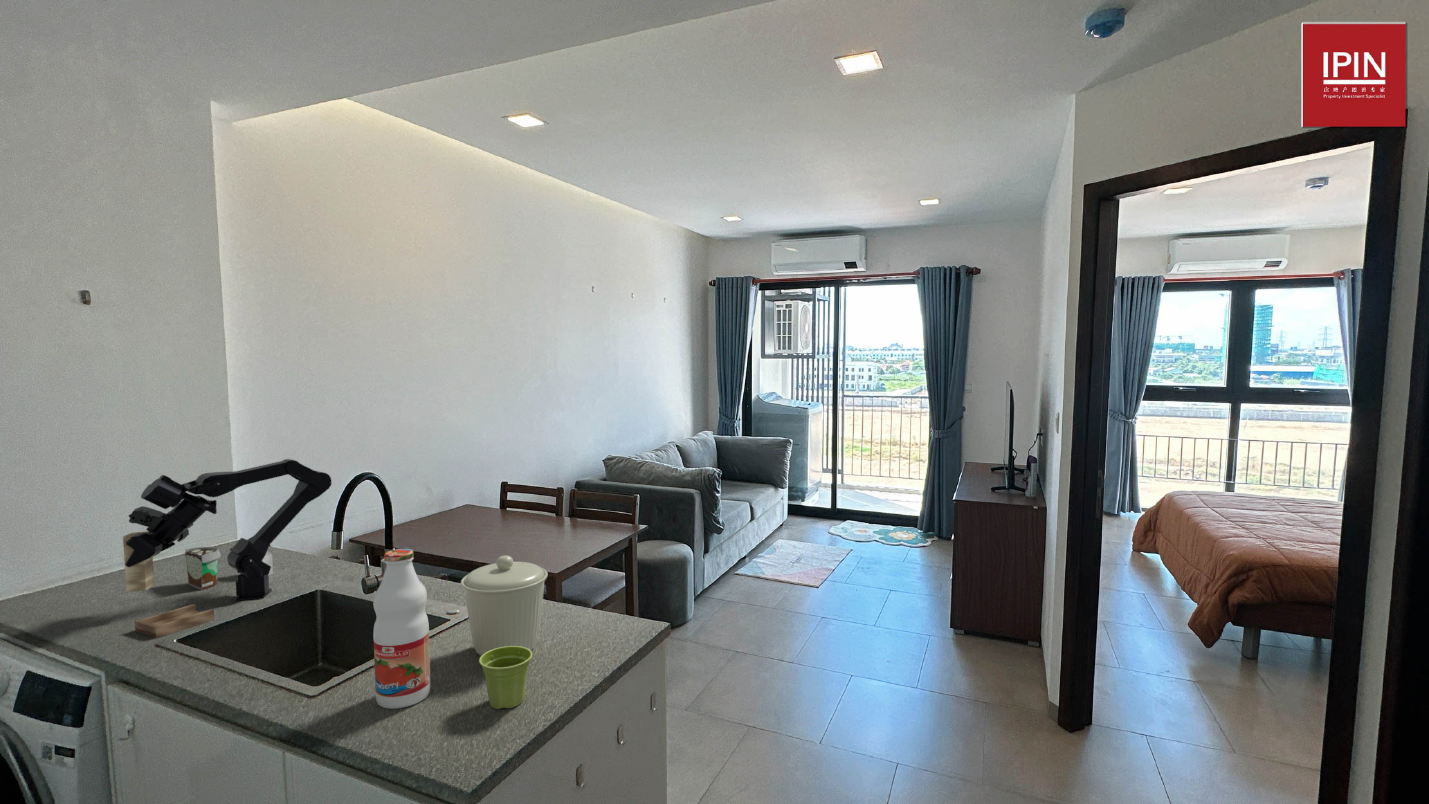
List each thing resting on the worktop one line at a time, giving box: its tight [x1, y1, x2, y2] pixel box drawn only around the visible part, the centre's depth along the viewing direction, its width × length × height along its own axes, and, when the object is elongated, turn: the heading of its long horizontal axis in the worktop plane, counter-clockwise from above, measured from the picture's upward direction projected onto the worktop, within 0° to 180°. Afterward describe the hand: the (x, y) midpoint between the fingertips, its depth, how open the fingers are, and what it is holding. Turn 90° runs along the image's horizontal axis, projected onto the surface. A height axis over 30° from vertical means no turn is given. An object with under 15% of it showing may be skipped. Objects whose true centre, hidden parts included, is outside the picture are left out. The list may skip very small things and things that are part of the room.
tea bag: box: [262, 548, 274, 576], centre depth 195 cm, size 4×7×10 cm, turn 72°
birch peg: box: [122, 530, 155, 593], centre depth 163 cm, size 4×4×14 cm
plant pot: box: [478, 646, 533, 710], centre depth 121 cm, size 9×9×9 cm
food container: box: [184, 546, 222, 591], centre depth 187 cm, size 12×6×10 cm, turn 58°
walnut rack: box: [134, 604, 215, 639], centre depth 158 cm, size 12×9×2 cm
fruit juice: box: [372, 548, 431, 710], centre depth 123 cm, size 9×9×28 cm
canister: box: [460, 555, 548, 657], centre depth 143 cm, size 18×18×21 cm
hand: (132, 563), depth 163 cm, fingers closed on birch peg, 4 cm apart
